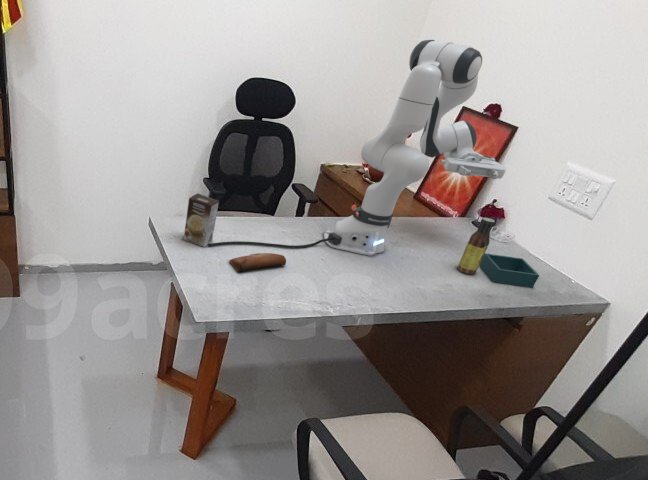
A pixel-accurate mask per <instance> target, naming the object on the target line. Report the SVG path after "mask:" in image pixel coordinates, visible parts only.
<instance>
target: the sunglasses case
mask: <svg viewBox="0 0 648 480" xmlns="http://www.w3.org/2000/svg"><path fill="white" fill-rule="evenodd" d="M229 264H230V265H231V266H232V267H233V268H234V270H235V271H236V272H237V273H240V272H245V271H249V270H250V271H251V270H255V269H262V268H269V267H277V266H278V267H279V266H286V265H287V258H286V256H285V255H283V254H278V253H273V252H262V253H261V252H258V253H250V254H249V255H244V256H238V257H234V258H231V259H229Z"/></svg>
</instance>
